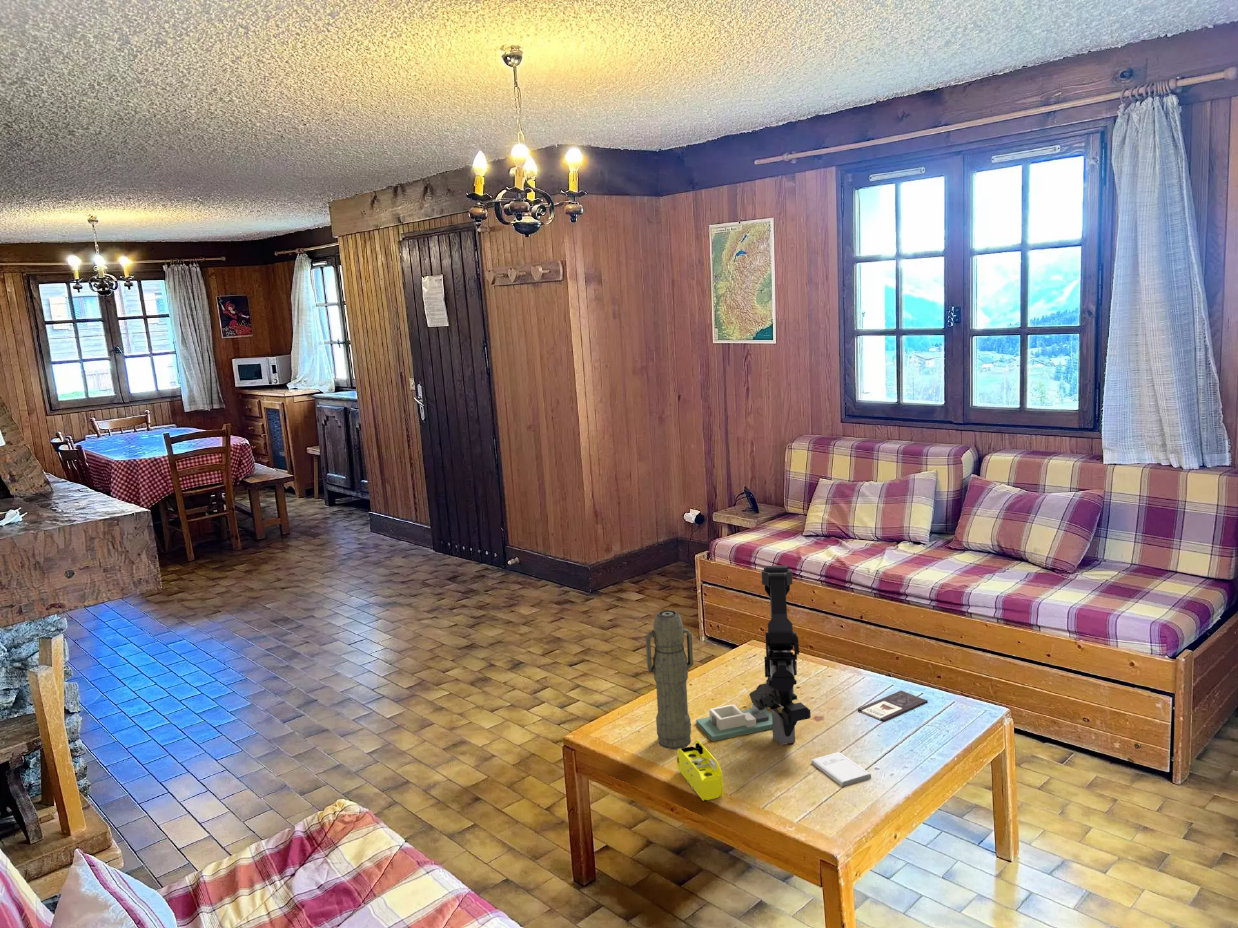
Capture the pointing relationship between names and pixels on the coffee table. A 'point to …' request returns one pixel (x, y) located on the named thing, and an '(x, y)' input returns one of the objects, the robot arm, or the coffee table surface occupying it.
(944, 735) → the coffee table surface
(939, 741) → the coffee table surface
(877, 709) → the chocolate bar
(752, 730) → the board
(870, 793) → the coffee table surface
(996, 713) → the coffee table surface
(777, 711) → the plug
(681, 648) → the thermos
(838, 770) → the external hard drive
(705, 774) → the yellow toy chassis
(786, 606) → the robot arm
